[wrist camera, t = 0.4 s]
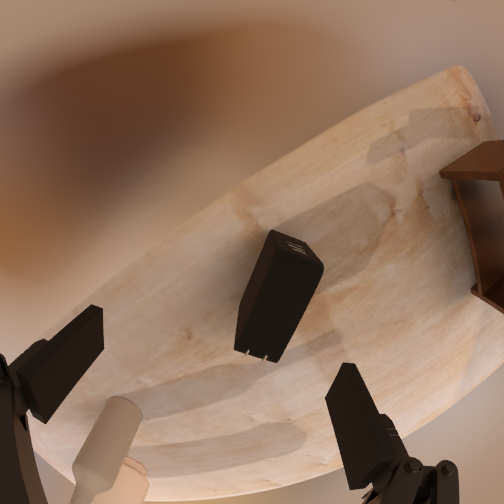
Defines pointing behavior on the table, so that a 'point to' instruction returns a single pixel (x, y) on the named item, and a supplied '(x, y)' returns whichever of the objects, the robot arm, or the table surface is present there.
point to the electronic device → (276, 296)
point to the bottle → (105, 449)
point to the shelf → (483, 215)
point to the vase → (126, 485)
